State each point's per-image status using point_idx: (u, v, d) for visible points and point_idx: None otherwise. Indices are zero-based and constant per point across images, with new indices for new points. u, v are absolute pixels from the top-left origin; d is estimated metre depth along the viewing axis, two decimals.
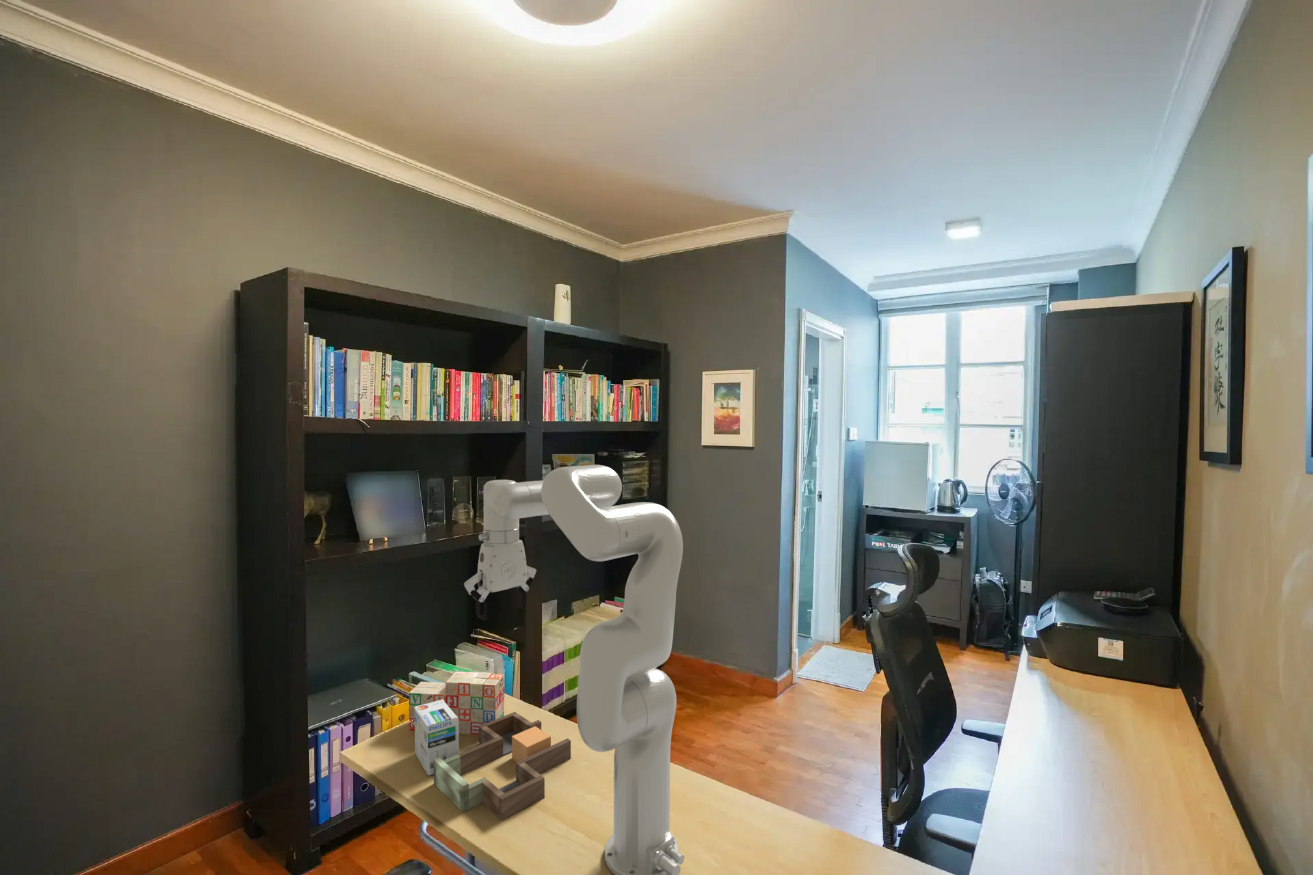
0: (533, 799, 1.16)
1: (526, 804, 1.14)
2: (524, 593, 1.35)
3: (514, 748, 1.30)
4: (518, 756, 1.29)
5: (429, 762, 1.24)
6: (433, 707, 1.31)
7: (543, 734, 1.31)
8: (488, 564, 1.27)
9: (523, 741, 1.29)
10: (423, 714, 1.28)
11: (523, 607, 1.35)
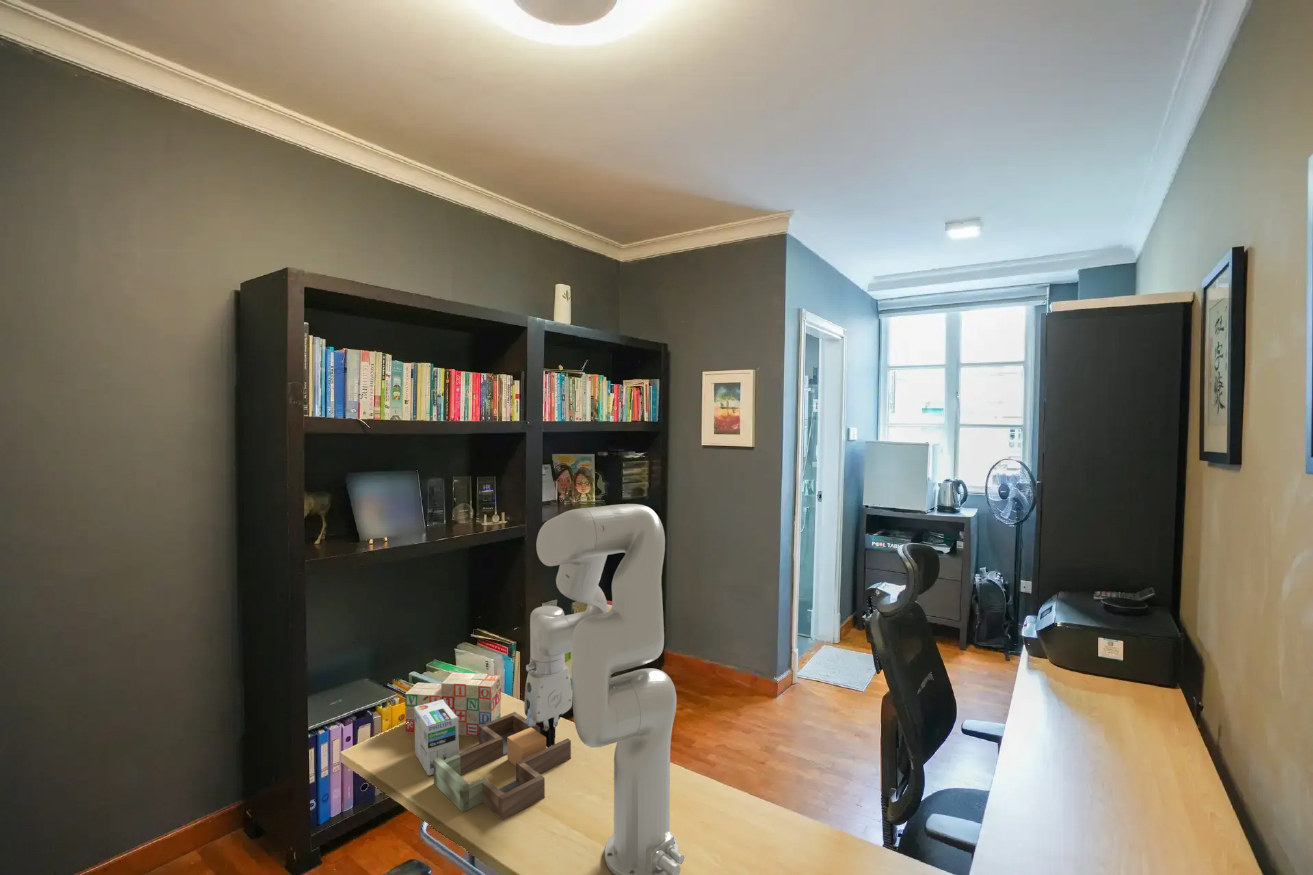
0: (533, 799, 1.16)
1: (526, 804, 1.14)
2: (553, 729, 1.33)
3: (509, 749, 1.30)
4: (514, 757, 1.28)
5: (429, 762, 1.24)
6: (433, 707, 1.31)
7: (538, 735, 1.31)
8: (536, 695, 1.29)
9: (519, 742, 1.28)
10: (423, 714, 1.28)
11: (552, 743, 1.33)
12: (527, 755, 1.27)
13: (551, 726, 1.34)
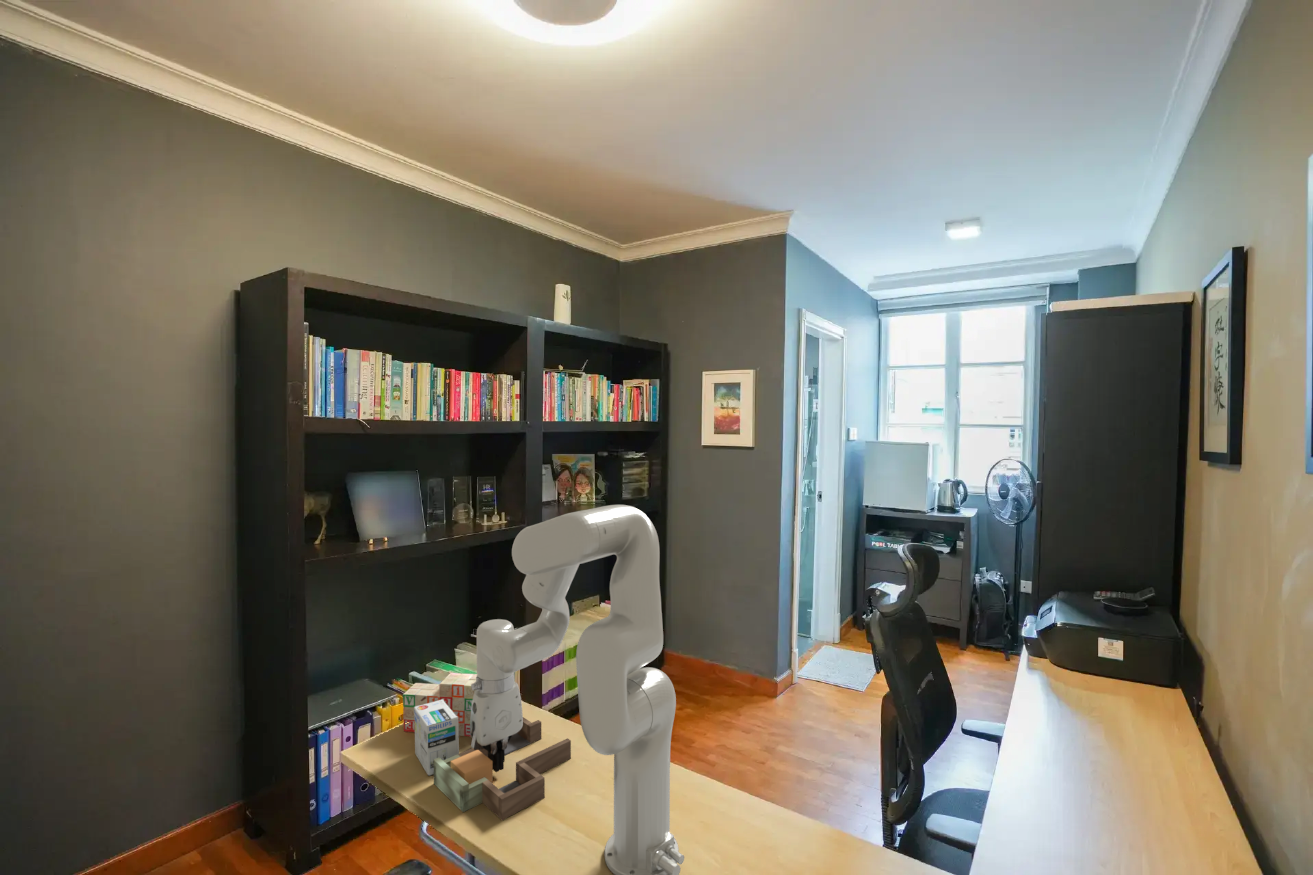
0: (533, 799, 1.16)
1: (526, 804, 1.14)
2: (501, 752, 1.24)
3: None
4: None
5: (429, 762, 1.24)
6: (433, 707, 1.31)
7: (485, 759, 1.22)
8: (481, 717, 1.20)
9: (462, 766, 1.19)
10: (423, 714, 1.28)
11: (500, 768, 1.24)
12: (471, 781, 1.18)
13: (500, 749, 1.24)
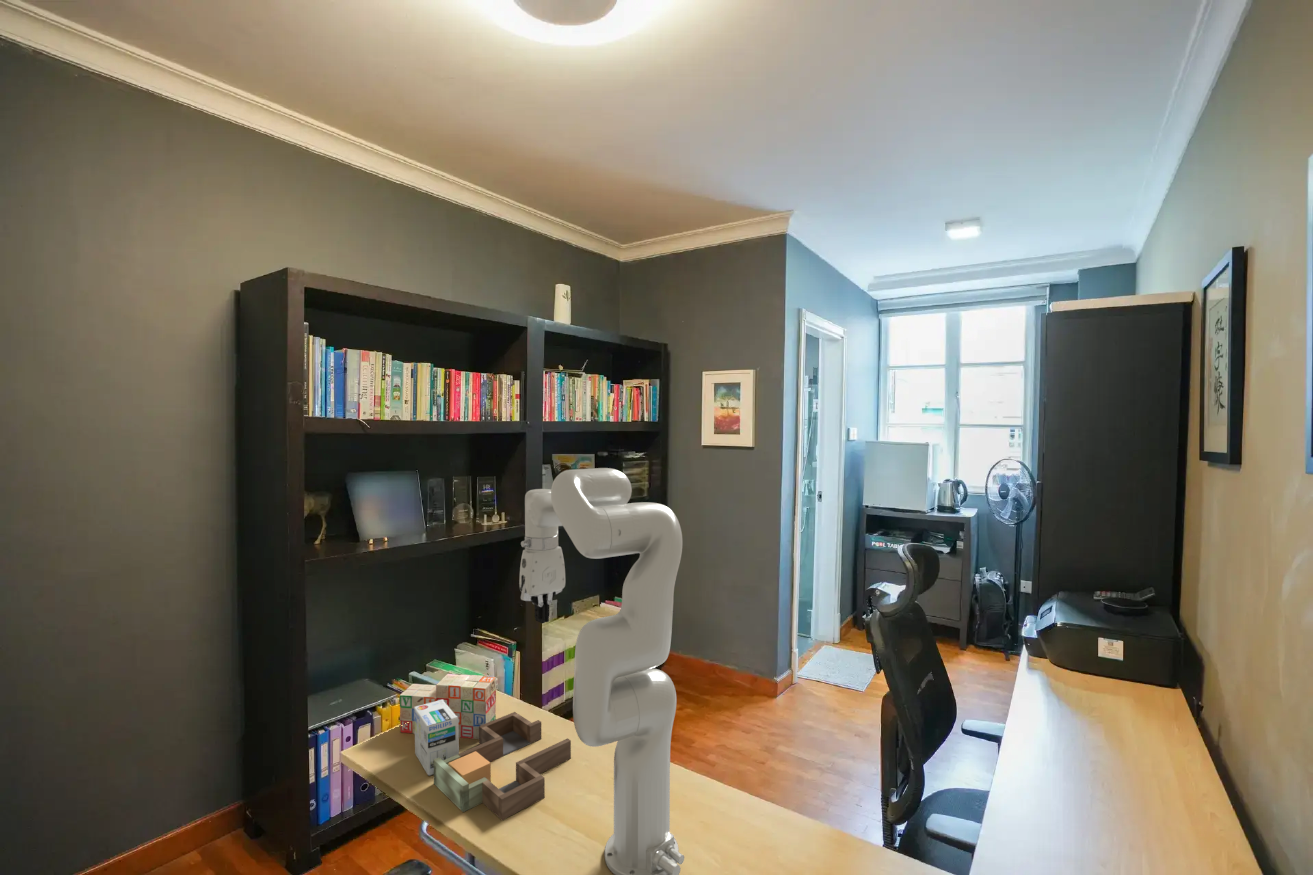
0: (533, 799, 1.16)
1: (526, 804, 1.14)
2: (547, 606, 1.38)
3: None
4: None
5: (429, 762, 1.24)
6: (433, 707, 1.31)
7: (483, 760, 1.21)
8: (530, 569, 1.34)
9: (460, 768, 1.19)
10: (423, 714, 1.28)
11: (546, 620, 1.38)
12: (469, 783, 1.17)
13: (545, 603, 1.39)
